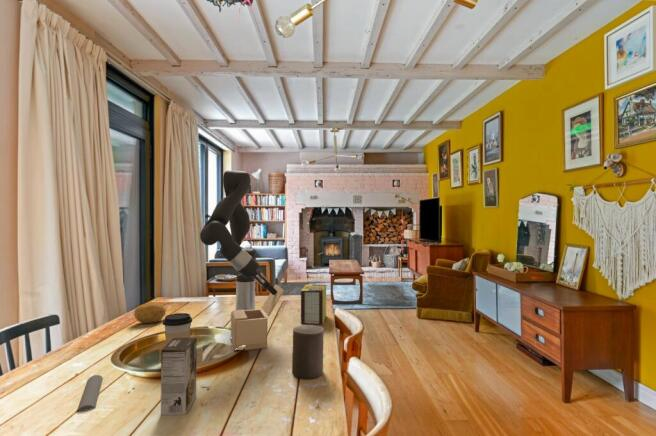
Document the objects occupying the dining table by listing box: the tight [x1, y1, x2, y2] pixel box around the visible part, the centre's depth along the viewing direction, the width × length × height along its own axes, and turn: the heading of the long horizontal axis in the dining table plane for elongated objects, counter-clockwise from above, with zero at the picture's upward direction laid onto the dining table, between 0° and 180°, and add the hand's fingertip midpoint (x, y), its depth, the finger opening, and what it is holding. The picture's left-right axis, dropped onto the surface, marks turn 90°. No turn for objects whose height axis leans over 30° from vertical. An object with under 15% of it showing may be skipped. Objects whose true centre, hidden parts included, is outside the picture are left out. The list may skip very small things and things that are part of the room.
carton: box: [230, 308, 268, 351], centre depth 138 cm, size 15×12×12 cm
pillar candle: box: [291, 324, 325, 380], centre depth 112 cm, size 10×10×15 cm
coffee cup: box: [161, 312, 193, 346], centre depth 121 cm, size 9×9×15 cm
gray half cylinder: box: [76, 374, 104, 412], centre depth 98 cm, size 4×20×2 cm, turn 27°
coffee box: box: [160, 337, 197, 416], centre depth 92 cm, size 9×6×16 cm
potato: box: [133, 301, 167, 324], centre depth 165 cm, size 10×13×9 cm
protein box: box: [300, 284, 327, 325], centre depth 172 cm, size 10×15×16 cm
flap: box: [261, 284, 285, 317], centre depth 141 cm, size 14×1×11 cm
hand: (275, 293), depth 142 cm, fingers closed
